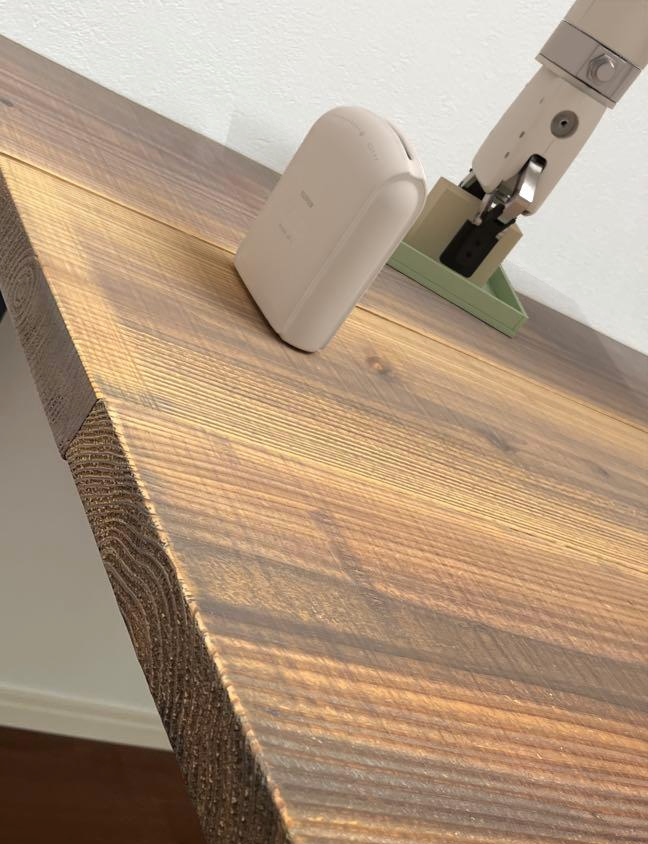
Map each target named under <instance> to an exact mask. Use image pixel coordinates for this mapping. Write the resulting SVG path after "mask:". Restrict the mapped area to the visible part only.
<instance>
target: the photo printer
mask: <svg viewBox="0 0 648 844" xmlns="http://www.w3.org/2000/svg"><path fill="white" fill-rule="evenodd" d="M427 195H428V182H427V177H426V173H425V169H424V167H423V163H422V160H421V159H420V156H419V153H418V152H417V150H416V148H415V146H414V145H413V144H412V142H411V141H410V139H409V137H408V136H407V135H406V133H404V131H403V130H401V128H400V127H398V126H397V125H396V124H395V123H394V122H392V121H391V120H389V119H387V118H386V117H383V116H381V115H379V114H377V113H376V112H374V111H372V110H369V109H367V108H365V107H361V106H355V105H340V106H336V107H334V108H331V109H329V110H327V111H326V112H325V113H323V114H322V115H320V116H319V118H318V119H316V121H314V123H313V125H312V126H311V127H310V129H309V130H308V132H307V134H306V135H305V137H304V139H303V140H302V142H301V143H300V145H299V147H298V148H297V150H296V151H295V153H294V155H293V156H292V158H291V160H290V161H289V163H288V164H287V166H286V168H285V170H284V172H283V173H282V175H281V176H280V178H279V179H278V181H277V183H276V184H275V186H274V188H273V189H272V191H271V193H270V194H269V196H268V198H267V199H266V201H265V202H264V205H263V206H262V207H261V209H260V211H259V213H258V215H257V216H256V218H255V219H254V221H253V222H252V224H251V226H250V227H249V229H248V231H247V232H246V234H245V236H244V237H243V238H242V241H241V243H240V244H239V246H238V248H237V250H236V252H235V254H234V256H233V264H234V267H235V269H236V271H237V273H238V274H239V277H240V278H241V280H242V282H243V283H244V285H245V287H246V288H247V290H248V292H249V293H250V295H251V297H252V298H253V300H254V301H255V303H256V305H257V307H258V308H259V310H260V311H261V312H262V314H263V316H264V317H265V319H266V320H267V321H268V323H269V325H270V326H271V327H272V329H273V330H274V331H275V333H276V334H278V335H279V337H280V338H281V340H282V341H284V342H286V343H287V344H289V345H291V346H293V347H295V348H297V349H299V350H302V351H305V352H308V353H309V352H311V353H315V352H317V351H318V350H321V351H322V350H325V349H326V348H327V347H328V345H329V344H330V343H331V342H332V341H333V339H334V338H335V337H336V335H337V334H338V333H339V331H340V330H341V328H342V327H343V326H344V324H345V322H346V321H347V319H348V318H349V317H350V315H351V313H352V312H353V311H354V309H355V308H356V306H357V305H358V304H359V302H360V300H361V299H362V298H363V296H364V295H365V294H366V292H367V291H368V290H369V288H370V287H371V285H372V284H373V282H374V281H375V280H376V278H377V277H378V275H379V274H380V273H381V270H382V269H384V267H385V265H387V264H386V262H387V261H388V259H389V258H390V257H391V255H392V254H393V252H394V251H395V249H396V248H397V247H398V245H399V244H400V242H401V241H402V240H403V238H404V237H405V235H406V234H407V232H408V231H409V230H410V228H411V227H412V225H413V224H414V223H415V221H416V220H417V218H418V217H419V215H420V214H421V212H422V210H423V208H424V205H425V202H426V199H427Z"/></svg>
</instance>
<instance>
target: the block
mask: <svg viewBox="0 0 648 844" xmlns="http://www.w3.org/2000/svg"><path fill="white" fill-rule="evenodd" d="M481 202H482V201H481V200H480V199H478V198H476V197H475V196H473V195H472V194H470V193H468V192H467V191H465V190H463V189H462V188H460V187H459V186H458V184H455V183H453V182H452V181H450V180H448V178H445V177H444V176H443V175H441V176H440V177H439V179H438V180H437V181H436V183H435V184H434V185H433V187H432V188H431V189H430V191H429V192H428V193H427V199H426V202H425V205H424V208H423V210H422V212H421V214H420V215H419V217H418V218H417V220H416V221H415V223H414V224H413V225H412V227H411V228H410V230H409V231H408V232H407V234H406V235H405V237H404V238H403V240H402V241H403V242H404V243H406V244H408V245H409V246H411V247H413V248H414V249H416V250H418V251H419V252H421V253H423V254H424V255H426V256H428V257H429V258H431V259H433V260H434V261H436V262H438V263H439V264H441V265H443V264H442V263H441V262H440V260H439V257H440V255H441V254H442V252H443V251H444V250H445V248H446V247H447V246H448V244H449V243H450V242H451V240H452V239H453V238H454V236H455V235H456V233H457V232H458V231H459V229H460V228H461V227H462V225H463V224H464V223H465V221H466V220H467V219H468V220H470V221H472V219H473V217H474V215H475V213H476V211H477V210H478V208H479V206H480V204H481ZM492 208H494V206H491V207H490V209H489V211H490V210H491V209H492ZM523 236H524V233H523V232H522V230H521V229H520V227H519V224H517V221H516V222H515V223H514V224H511V225H510V226H509V228H508V230H507V232H506V233H505V235H504V236H503V237H502V238H501V239H500V240H499V241H498V242H497V244H496V245H495V246H494V248H493V249H492V250H491V251H490V253H489V254H488V255H487V257H486V258H485V259H484V261H483V262H482V263H481V264H480V266H479V267H478V268H477V270H476V271H475V272H474V274H473V275H472V276H471V277H470V278H465V277H463V276H462V275H460V274H458V273H457V272H455V271H453V270H452V269H450V268H448V267H447V266H445V265H443V266H444V267H446V268H448V269H449V270H451V271H453V272H454V273H456V274H458V275H459V276H461V277H463V278H464V279H466V280H468V281H469V282H471V283H473V284H474V285H476V286H478V287H479V288H482V287H483V286H484V285H485V283H486V282H487V281H488V279H489V278H490V277H491V276H492V274H493V273H494V272H495V271H496V269H497V268H498V267H499V265H500V264H501V265H502V263H503V262H504V260H505V259H506V258H507V257H508V255H509V254H510V253H511V252H512V251H513V249H514V248H515V247H516V245H517V244H518V243H519V241H520V240H521V239H522V238H523Z"/></svg>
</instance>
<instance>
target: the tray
mask: <svg viewBox="0 0 648 844" xmlns="http://www.w3.org/2000/svg"><path fill="white" fill-rule="evenodd" d="M385 265H388V266H390V267H391V268H393V269H395V270H396V271H398V272H399V273H402V274H403V275H405V277H408V278H410V279H411V280H413V281H415V282H416V283H418V284H419V285H421V286H423V287H424V288H426V289H428V290H430V291H431V292H433V293H435V294H436V295H439V296H440V297H441V298H444V299H445V300H446V301H448V302H450V303H452V304H454V305H455V306H457V307H459V308H460V309H462V310H463V311H465V312H467V313H469V314H470V315H472V316H473V317H476V318H477V319H479V320H480V321H482V322H484V323H486V324H487V325H489V326H491V327H493V328H494V329H496V330H498V331H499V332H500V333H503V334H504V335H506V336H507V337H509V338H511V339H513V338H514V337H515V336H516V335H517V333H518V332H519V331H520V330H521V329H522V327H524V325H525V324H526V323H527V322H528V320H529V319H530V318H529V316H528V314H527V312H526V310H525V309H524V307H523V304H522V302H521V300H520V298H519V297H518V295H517V292H516V291H515V289H514V287H513V285H512V282H511V280H510V279H509V277H508V275H507V273H506V271H505V270H504V267H503V265H502V263H501V264H500V265H499V267H498V268H497V269H496V271H495V272H494V273H493V274H492V276H491V277H490V278H489V279H488V281H487V282H486V283H485V285H484V286H483V287H482V288H479V287H478V286H476V285H474V284H473V283H471V282H469V281H468V280H466V279H464V278H463V277H461V276H459V275H458V274H456V273H454V272H453V271H451V270H449V269H448V268H446V267H444V266H443V265H441V264H439V263H438V262H436V261H434V260H433V259H431V258H429V257H428V256H426V255H424V254H423V253H421V252H419V251H418V250H416V249H414V248H413V247H411V246H409V245H408V244H406V243H404V242H403V241H401V242H400V244H399V245H398V247H397V248H396V249H395V251H394V252H393V254H392V255H391V257H390V258H389V259H388V261H387V262H386V264H385Z"/></svg>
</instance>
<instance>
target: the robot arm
mask: <svg viewBox="0 0 648 844" xmlns="http://www.w3.org/2000/svg"><path fill="white" fill-rule="evenodd" d="M534 60H535V61H536V62H538V63H539V64H541V65H542V66H540V68H539V69H538V70H537V71H536V72H535V73H534V75H533V76H532V77H531V79H530V80H529V81H528V83H526V84H525V86H524V87H523V89H522V90H521V91H520V92H519V94H518V95H517V96H516V98H515V99H514V100H513V102H512V103H511V104H510V105H509V107H508V108H507V109H506V110H505V112H504V113H503V114H502V116H501V117H500V118H499V120H498V121H497V123H496V124H495V126H494V127H493V128H492V129H491V131H490V132H489V133H488V135H487V137H486V138H485V139H484V140H483V142H482V144H481V146H480V147H479V148H478V150H477V151H476V153H475V154H474V156H473V158H472V161H471V167H470V168H469V170H468V174H467V175H466V176H465V177H464V178H462V180H460V182H459V183H458V184H457V186H459V187H460V188H462V189H463V190H465V191H467V192H468V193H470V194H472V195H473V196H475V197H476V198H478V199H480V200H481V201H482V202H481V204H480V206H479V208H478V210H477V211H476V213H475V215H474V217H473V219H472V221H470V220H468V219H467V220H466V221H465V223H464V224H463V225H462V227H461V228H460V229H459V231H458V232H457V233H456V235H455V236H454V238H453V239H452V240H451V242H450V243H449V244H448V246H447V247H446V248H445V250H444V251H443V252H442V254H441V255H440V257H439V260H440V262H441V263H442V264H443V265H445V266H447V267H448V268H450V269H452V270H453V271H455V272H457V273H458V274H460V275H462V276H463V277H465V278H470V277H471V276H472V275H473V274H474V272H475V271H476V270H477V268H478V267H479V266H480V264H481V263H482V262H483V261H484V259H485V258H486V257H487V255H488V254H489V253H490V251H491V250H492V249H493V248H494V246H495V245H496V244H497V242H498V241H499V240H500V239H501V238H502V237H503V236H504V235H505V233H506V232H507V230H508V228H509V226H510V225H511V224H514V223H515V222H516V223H517V219H518V217H519V216H520V215H521V216H523V217H530V216H533V215H535V214H536V213H537V212H538V211H539V210H540V208H541V207H542V205H543V204H544V203H545V202H546V200H547V199H548V197H549V196H550V194H552V192H553V190H554V189H555V187H556V186H557V185H558V184H559V182H560V180H561V179H562V178H563V176H564V175H565V174H566V173H567V171H568V170H569V168H570V167H571V165H572V164H573V162H574V161H575V160H576V158H577V157H578V155H579V154H580V153H581V152H582V149H583V148H584V146H585V145H586V143H587V142H588V140H589V139H590V137H591V136H592V134H593V133H594V131H595V130H596V128H597V126H598V125H599V123H600V122H601V120H602V118H603V116H604V114H605V112H606V111H607V109H610V110H613V109H614V108H615V107H616V106H617V105H618V103H619V102H620V100H621V99H622V98H623V97H624V95H625V94H626V93H627V91H629V89H630V87H631V86H632V85H633V84H634V82H635V81H636V80H637V78H638V77H639V76H640V75H641V73H642V71H644V70H645V69H646V67H647V66H648V0H575V1H574V3H573V4H572V5H571V7H570V8H569V10H568V11H567V12H566V14H565V16H563V19H562V20H561V21H560V22H559V23H558V25H557V27H556V28H555V29H554V31H553V32H552V33H551V35H550V36H549V38H548V39H547V40H546V41H545V43H544V44H543V46H542V47H541V49H540V50H539V52H538V53H537V54H536V56H535V57H534ZM492 205H494V206H493V208H492V209H491V210H490V211H489V209H490V207H492Z"/></svg>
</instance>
